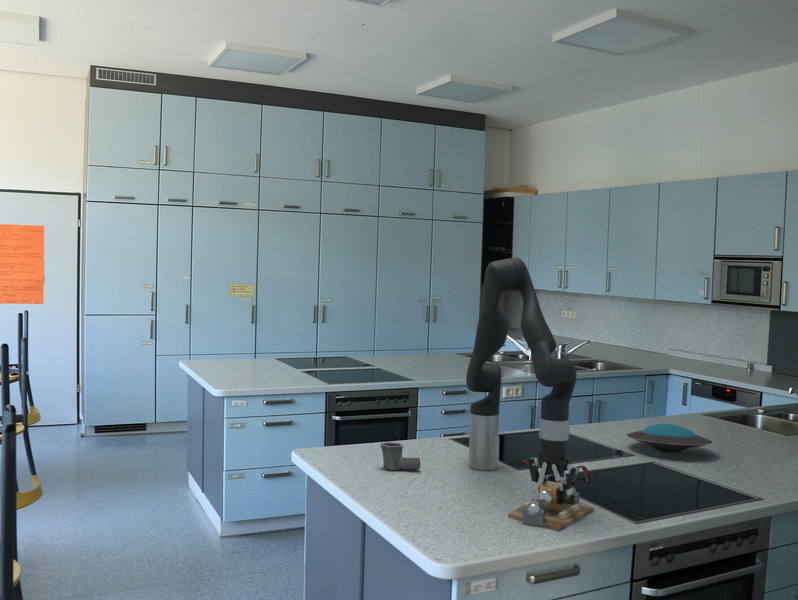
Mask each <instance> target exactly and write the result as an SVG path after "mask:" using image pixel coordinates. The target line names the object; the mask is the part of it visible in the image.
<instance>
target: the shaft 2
mask: <svg viewBox="0 0 798 600" xmlns="http://www.w3.org/2000/svg"><path fill="white" fill-rule="evenodd" d="M576 490H577V489H576V488H575V486H574V487H573V488H571V489H569V490H567V494H566V501H565V503H569V504H573V505H575V504H577V503H580V498H581V497H580V492H577V491H576Z"/></svg>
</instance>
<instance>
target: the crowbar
mask: <svg viewBox="0 0 798 600" xmlns="http://www.w3.org/2000/svg"><path fill="white" fill-rule="evenodd" d="M522 462H523V463H524V464H526V465H528V460H526V459H523V460H522ZM537 466H538V468H539V467H540V465H539V464H538V465H537ZM578 467H579V469H580V468H581V469H582V471H583V473H584V476H585V479H586V480H585V481H586V483H587V482H589V481H591V482H592V477H591V473H590V470H589V469H588V468H587V466H585V465H578ZM567 471H568V468H567V469H566V470H565V472H567ZM589 483H590V482H589Z"/></svg>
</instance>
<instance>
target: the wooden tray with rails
mask: <svg viewBox="0 0 798 600" xmlns="http://www.w3.org/2000/svg"><path fill="white" fill-rule="evenodd" d="M532 501H537V499H536V497H535V498H533V499H531V500H529V501H527V502H524V503H522V504H523V505H522V506H520V507H518V508H516V509H514V510H512V511H509V512H508V513H507V518H510V519H514V520H517V521H519V522H520V521H521V522H523V509H524V507H525V506H527V507H529V505H530V504H531V502H532ZM594 507H595V506H593V505H592V506H591V505H587V504H582V503H580V502H579V503H577V504H575V505H573V504H569V503H565V502H564V504H562V505H560V506H558V507H557V508H552V507H548V506H541V508H542V509H545V520H544V522H543V527H542V528H546V529H550V530H553V531H556V532H557V531H558V532H560V531H561V530H564V529H565V528H567V527H568V526H570V525H572V524H573V523H575V522H577V521H579V520H581V519H582V518H584V517H585V516H587V515H589V514H590V513H592V512H594V510H595V509H594Z"/></svg>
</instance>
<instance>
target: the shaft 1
mask: <svg viewBox="0 0 798 600" xmlns="http://www.w3.org/2000/svg"><path fill="white" fill-rule="evenodd" d="M544 520H545V509H542V508H541V504H540V503H539V502H538V501H532V502H531V504H530V505H529V507H527V506H525V507H524V509H523V521H522V525H527V526H533V527H541V528H544V527H543V522H544Z"/></svg>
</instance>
